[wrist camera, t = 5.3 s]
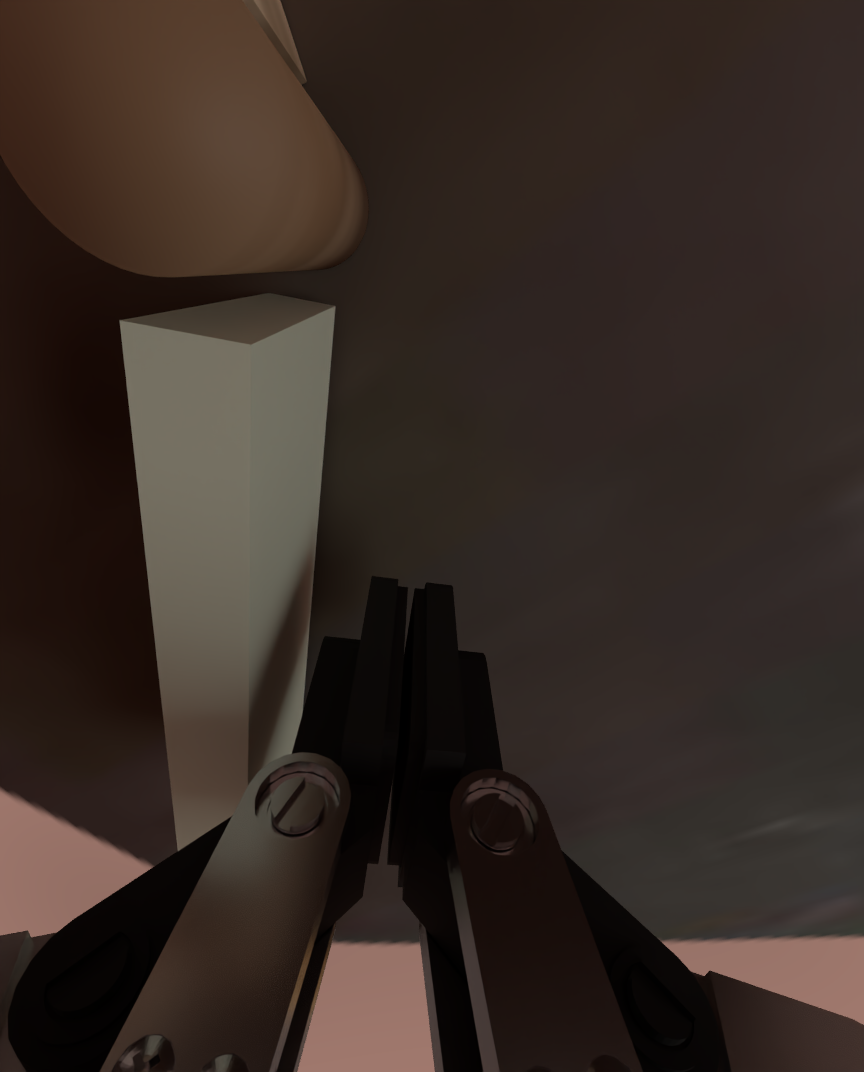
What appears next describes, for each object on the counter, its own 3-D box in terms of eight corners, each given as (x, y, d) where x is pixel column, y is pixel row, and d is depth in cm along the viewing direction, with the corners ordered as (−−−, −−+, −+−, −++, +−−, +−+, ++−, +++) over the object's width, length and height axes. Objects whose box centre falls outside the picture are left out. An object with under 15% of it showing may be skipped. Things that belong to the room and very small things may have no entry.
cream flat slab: (252, 289, 9) (85, 315, 5) (351, 309, 9) (282, 351, 5) (248, 745, 15) (173, 948, 10) (309, 752, 15) (261, 954, 11)
